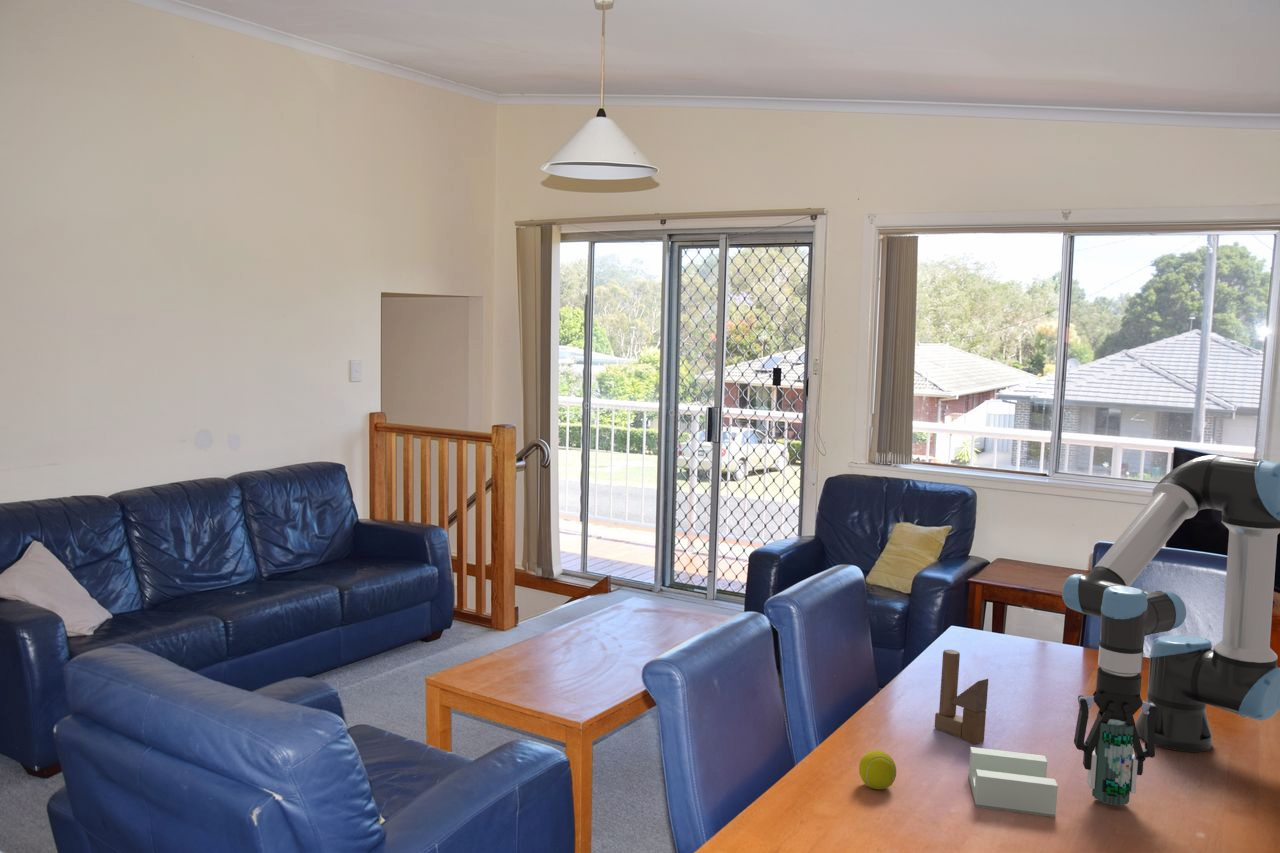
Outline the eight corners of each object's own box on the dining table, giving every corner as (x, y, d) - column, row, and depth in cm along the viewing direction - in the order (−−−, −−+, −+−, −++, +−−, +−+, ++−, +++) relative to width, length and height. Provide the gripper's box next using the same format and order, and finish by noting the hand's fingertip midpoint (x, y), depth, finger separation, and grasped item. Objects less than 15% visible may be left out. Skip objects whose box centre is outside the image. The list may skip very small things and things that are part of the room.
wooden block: (974, 745, 218) (979, 664, 216) (933, 728, 226) (938, 650, 225) (984, 741, 220) (990, 661, 218) (944, 725, 229) (949, 647, 227)
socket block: (1042, 785, 199) (1044, 755, 198) (1055, 817, 185) (1057, 785, 185) (968, 775, 202) (970, 746, 201) (975, 806, 188) (977, 775, 188)
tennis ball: (855, 778, 199) (857, 744, 198) (890, 780, 198) (893, 746, 198) (861, 794, 192) (863, 758, 191) (898, 796, 191) (901, 760, 191)
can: (1111, 807, 188) (1117, 729, 186) (1085, 793, 193) (1090, 717, 192) (1135, 802, 190) (1141, 725, 189) (1108, 788, 196) (1114, 713, 194)
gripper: (1170, 668, 191) (1161, 785, 193) (1060, 658, 195) (1053, 773, 197) (1181, 681, 183) (1172, 803, 186) (1068, 671, 188) (1060, 790, 190)
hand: (1111, 787), depth 191 cm, fingers closed on can, 6 cm apart
